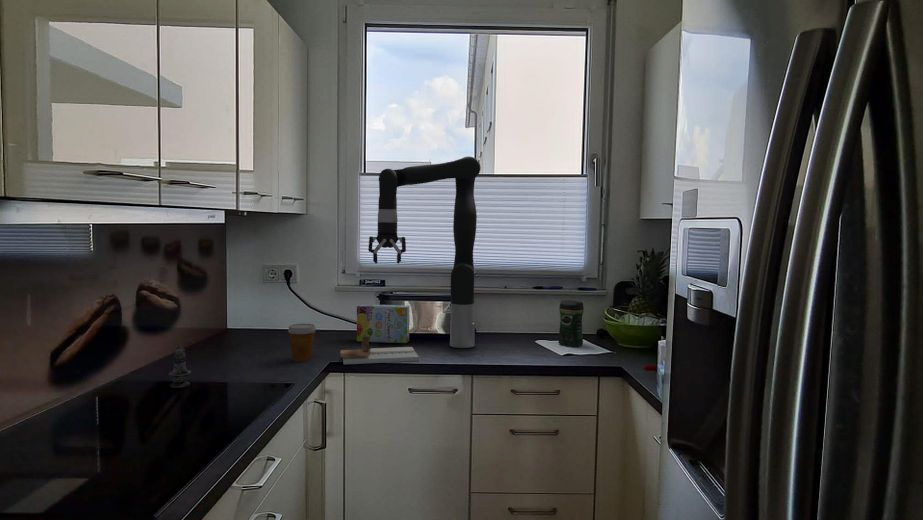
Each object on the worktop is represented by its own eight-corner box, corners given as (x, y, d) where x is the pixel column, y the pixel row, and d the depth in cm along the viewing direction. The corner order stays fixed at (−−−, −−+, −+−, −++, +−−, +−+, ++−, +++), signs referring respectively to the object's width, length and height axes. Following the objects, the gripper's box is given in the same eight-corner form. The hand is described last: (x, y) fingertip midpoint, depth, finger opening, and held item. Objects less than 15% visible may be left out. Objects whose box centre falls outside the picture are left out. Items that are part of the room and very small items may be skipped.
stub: (369, 351, 185) (369, 333, 185) (370, 355, 180) (370, 337, 180) (340, 353, 183) (340, 334, 182) (340, 356, 177) (340, 337, 177)
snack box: (409, 341, 216) (409, 305, 216) (406, 343, 211) (407, 307, 210) (359, 338, 218) (360, 303, 218) (355, 341, 213) (356, 305, 212)
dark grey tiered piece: (174, 381, 154) (173, 341, 153) (194, 381, 154) (194, 342, 154) (164, 388, 148) (163, 346, 147) (185, 387, 148) (185, 346, 148)
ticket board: (412, 352, 196) (412, 346, 196) (418, 360, 184) (418, 354, 183) (342, 355, 190) (342, 349, 189) (343, 364, 177) (343, 357, 177)
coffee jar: (585, 345, 214) (587, 300, 213) (575, 348, 208) (577, 302, 207) (565, 341, 221) (566, 298, 219) (555, 344, 215) (556, 299, 214)
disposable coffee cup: (321, 357, 186) (321, 324, 185) (305, 364, 177) (305, 329, 176) (298, 355, 189) (299, 322, 188) (281, 361, 180) (281, 326, 179)
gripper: (404, 222, 206) (403, 262, 207) (368, 221, 202) (367, 262, 203) (407, 221, 198) (406, 264, 199) (369, 221, 195) (369, 264, 196)
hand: (387, 263), depth 201 cm, fingers open, 8 cm apart
